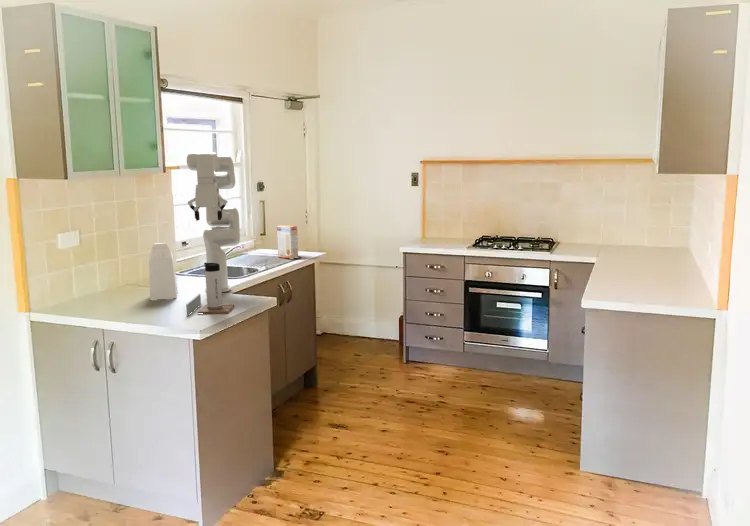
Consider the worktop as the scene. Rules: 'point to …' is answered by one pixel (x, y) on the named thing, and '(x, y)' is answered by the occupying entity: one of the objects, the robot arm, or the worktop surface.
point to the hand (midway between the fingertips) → (208, 220)
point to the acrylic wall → (193, 304)
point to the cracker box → (287, 241)
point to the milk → (162, 273)
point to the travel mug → (213, 286)
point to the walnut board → (223, 310)
